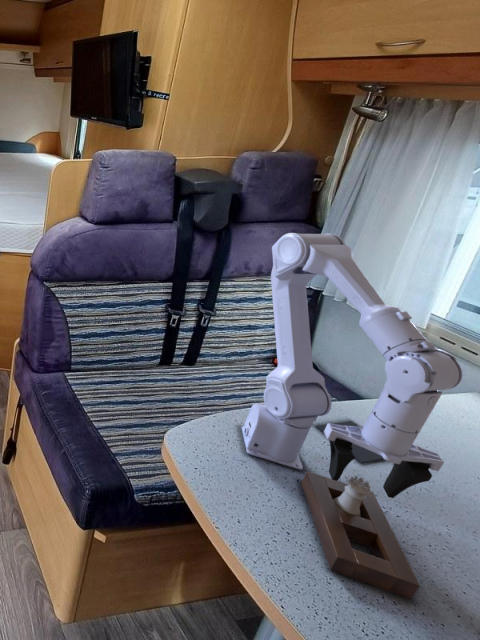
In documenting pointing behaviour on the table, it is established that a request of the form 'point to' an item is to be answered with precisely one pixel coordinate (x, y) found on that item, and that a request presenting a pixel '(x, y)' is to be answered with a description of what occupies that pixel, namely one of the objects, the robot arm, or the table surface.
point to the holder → (358, 538)
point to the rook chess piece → (352, 496)
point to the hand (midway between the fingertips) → (359, 484)
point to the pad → (359, 452)
